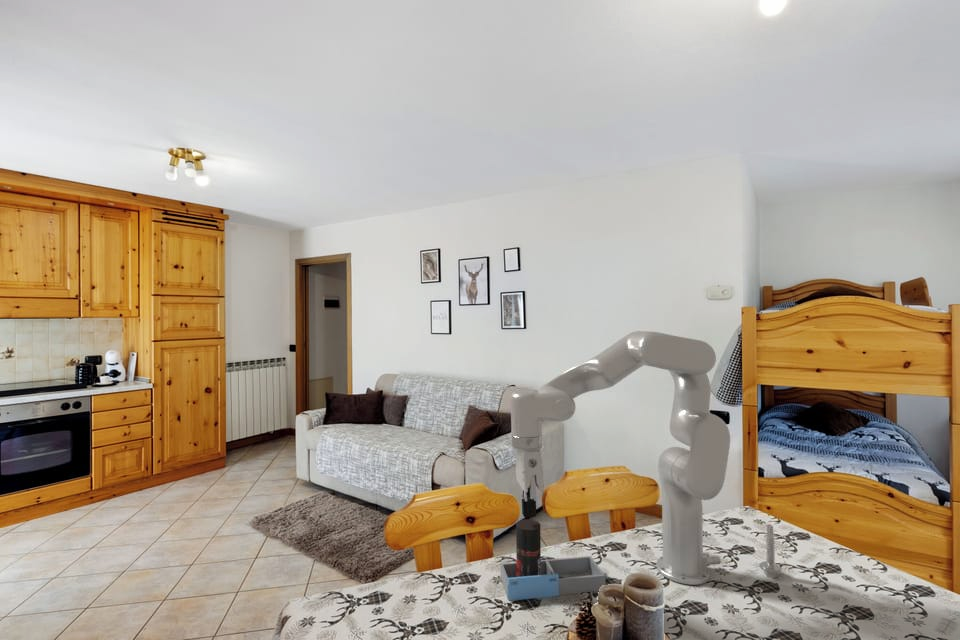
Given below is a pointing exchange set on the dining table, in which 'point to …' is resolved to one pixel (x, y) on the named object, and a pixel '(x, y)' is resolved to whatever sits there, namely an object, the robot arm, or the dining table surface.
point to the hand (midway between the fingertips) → (529, 515)
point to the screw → (770, 556)
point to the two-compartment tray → (552, 578)
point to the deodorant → (528, 548)
